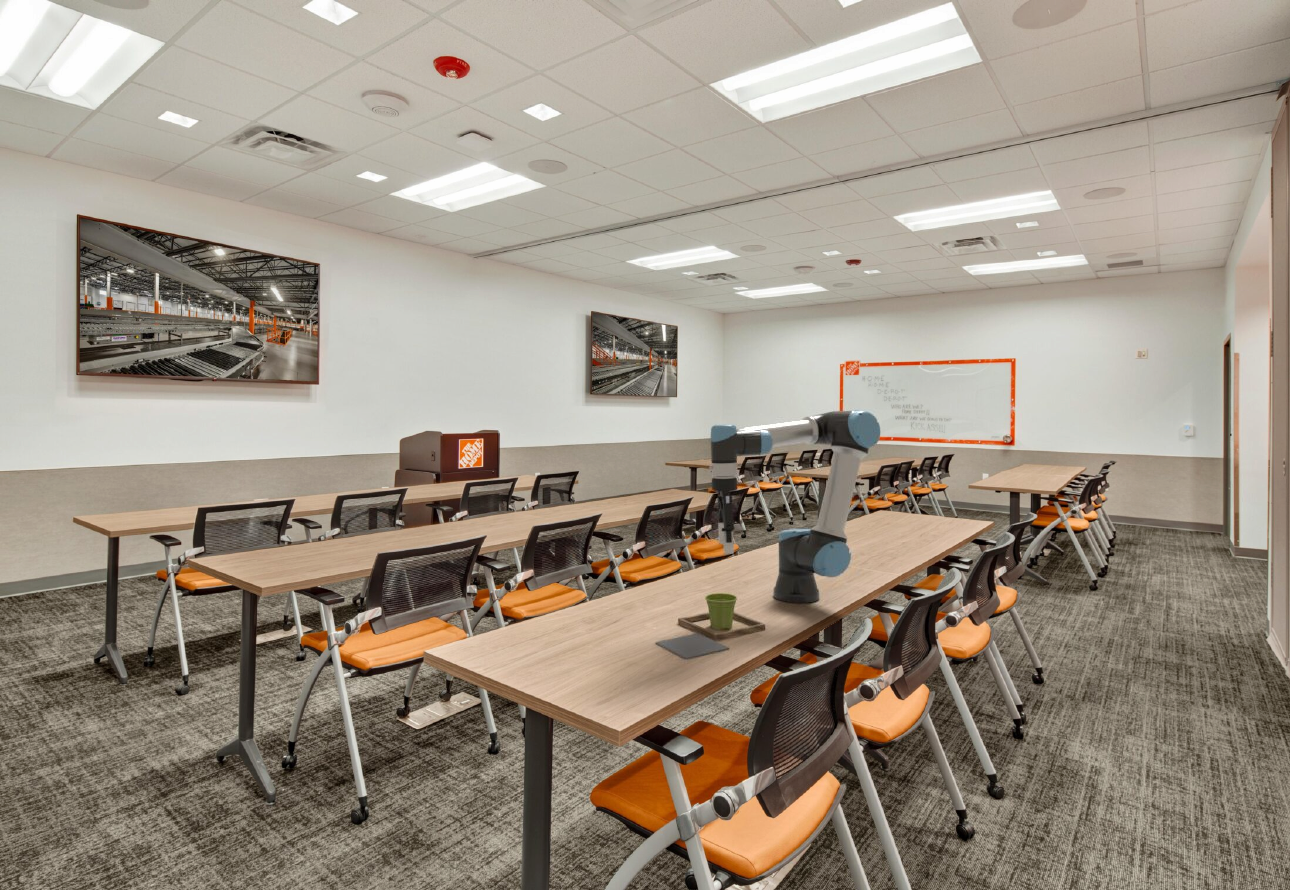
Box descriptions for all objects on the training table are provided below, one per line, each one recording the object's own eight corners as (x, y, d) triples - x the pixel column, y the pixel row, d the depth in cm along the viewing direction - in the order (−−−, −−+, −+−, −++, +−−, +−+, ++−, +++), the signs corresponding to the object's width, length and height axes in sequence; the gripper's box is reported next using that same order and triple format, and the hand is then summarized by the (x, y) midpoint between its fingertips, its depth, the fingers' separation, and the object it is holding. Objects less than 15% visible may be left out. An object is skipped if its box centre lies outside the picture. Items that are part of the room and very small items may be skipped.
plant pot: (699, 628, 188) (699, 599, 187) (712, 619, 196) (712, 591, 196) (730, 633, 183) (730, 603, 183) (741, 624, 192) (741, 595, 191)
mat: (697, 634, 183) (697, 632, 183) (729, 649, 171) (729, 647, 171) (655, 643, 175) (655, 642, 175) (685, 659, 163) (685, 658, 163)
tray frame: (725, 613, 202) (725, 608, 202) (765, 629, 187) (765, 624, 187) (678, 623, 193) (678, 618, 192) (715, 640, 177) (715, 635, 177)
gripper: (707, 473, 204) (709, 540, 205) (716, 481, 179) (717, 558, 180) (731, 472, 204) (733, 539, 205) (743, 481, 179) (744, 557, 180)
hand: (725, 548), depth 193 cm, fingers open, 13 cm apart
